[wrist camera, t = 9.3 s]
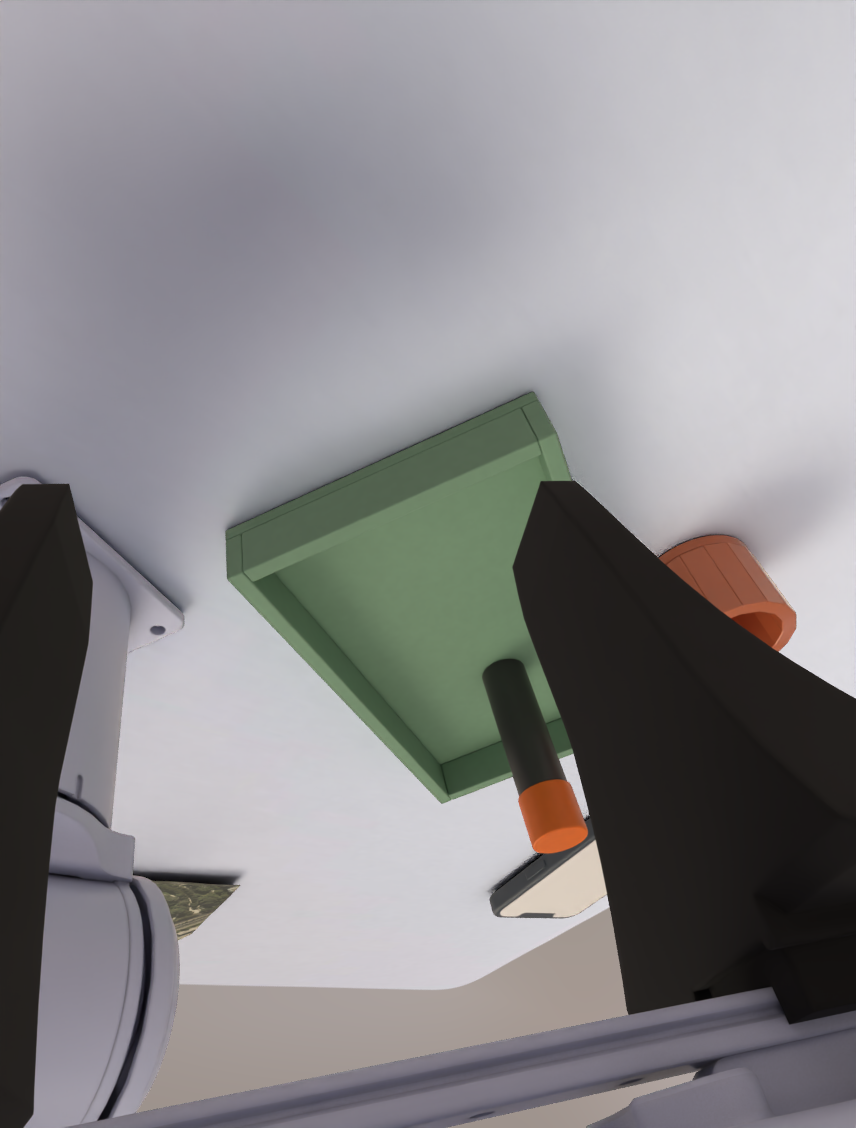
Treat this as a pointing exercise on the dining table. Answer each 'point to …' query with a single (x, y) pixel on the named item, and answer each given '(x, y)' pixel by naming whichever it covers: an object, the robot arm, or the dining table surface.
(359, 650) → the tray
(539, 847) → the marker
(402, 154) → the dining table surface
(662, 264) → the dining table surface
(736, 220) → the dining table surface
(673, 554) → the pen pot
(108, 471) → the dining table surface
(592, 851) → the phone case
